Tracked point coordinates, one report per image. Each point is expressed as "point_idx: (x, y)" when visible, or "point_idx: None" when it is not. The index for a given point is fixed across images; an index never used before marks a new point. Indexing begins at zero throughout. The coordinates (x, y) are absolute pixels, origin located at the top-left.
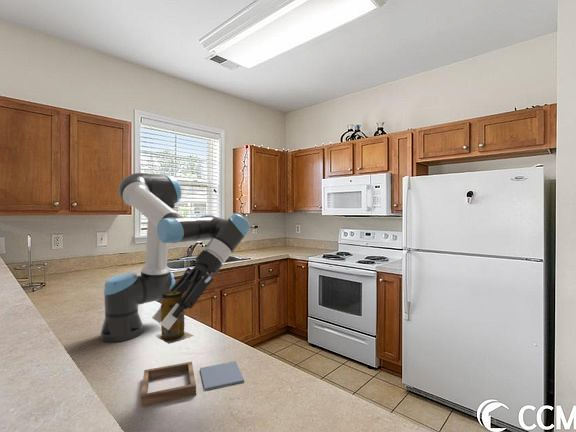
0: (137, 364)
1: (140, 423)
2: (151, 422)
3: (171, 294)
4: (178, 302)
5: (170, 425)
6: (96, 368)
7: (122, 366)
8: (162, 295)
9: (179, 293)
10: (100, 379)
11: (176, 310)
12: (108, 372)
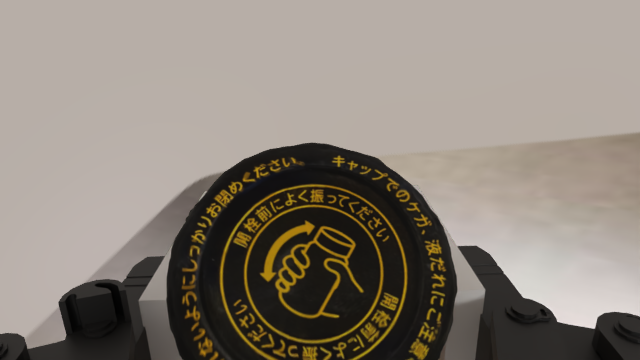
0: (587, 289)
1: (186, 206)
2: (167, 230)
3: (260, 240)
4: (81, 287)
5: (109, 269)
6: (624, 163)
7: (597, 238)
8: (329, 145)
9: (197, 353)
10: (525, 162)
11: (142, 287)
12: (568, 190)
